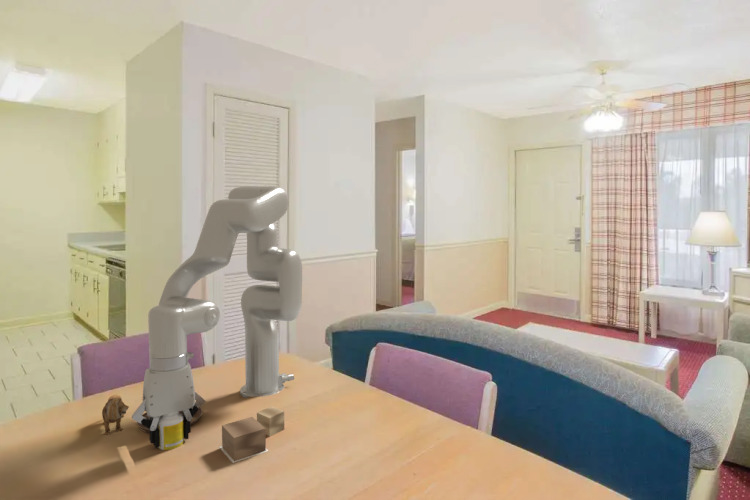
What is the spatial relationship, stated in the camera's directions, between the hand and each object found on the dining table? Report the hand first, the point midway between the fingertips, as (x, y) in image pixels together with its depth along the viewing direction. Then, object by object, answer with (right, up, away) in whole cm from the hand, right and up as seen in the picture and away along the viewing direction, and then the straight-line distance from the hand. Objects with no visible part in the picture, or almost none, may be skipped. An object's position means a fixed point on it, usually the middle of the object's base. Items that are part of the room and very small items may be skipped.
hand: (170, 440), depth 102 cm
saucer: (-5, -1, +11) cm, 13 cm away
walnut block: (+17, -1, -2) cm, 17 cm away
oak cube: (+21, 0, +7) cm, 22 cm away
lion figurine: (-18, -1, +10) cm, 21 cm away
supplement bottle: (0, -2, 0) cm, 2 cm away
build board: (+18, -2, -1) cm, 19 cm away
